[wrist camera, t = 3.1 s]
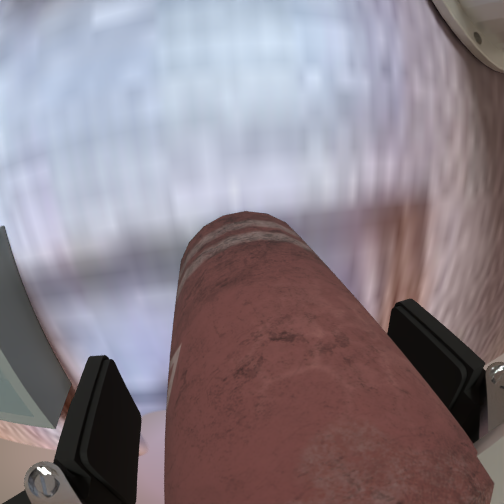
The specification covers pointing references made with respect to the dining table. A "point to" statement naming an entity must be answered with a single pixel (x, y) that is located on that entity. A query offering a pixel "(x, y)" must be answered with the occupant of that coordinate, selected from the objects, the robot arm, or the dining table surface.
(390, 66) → the dining table surface
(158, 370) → the dining table surface
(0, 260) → the tray
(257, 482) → the can
